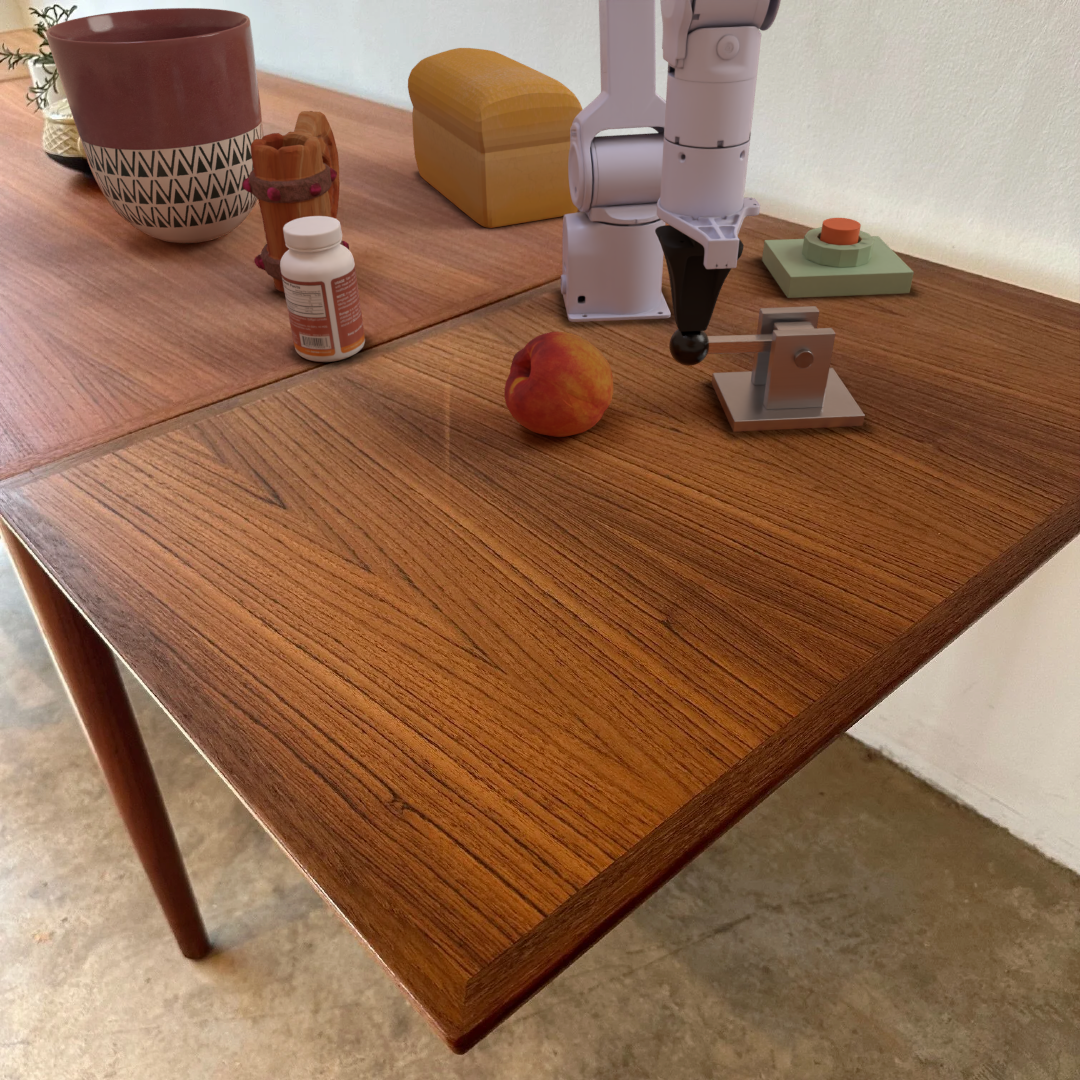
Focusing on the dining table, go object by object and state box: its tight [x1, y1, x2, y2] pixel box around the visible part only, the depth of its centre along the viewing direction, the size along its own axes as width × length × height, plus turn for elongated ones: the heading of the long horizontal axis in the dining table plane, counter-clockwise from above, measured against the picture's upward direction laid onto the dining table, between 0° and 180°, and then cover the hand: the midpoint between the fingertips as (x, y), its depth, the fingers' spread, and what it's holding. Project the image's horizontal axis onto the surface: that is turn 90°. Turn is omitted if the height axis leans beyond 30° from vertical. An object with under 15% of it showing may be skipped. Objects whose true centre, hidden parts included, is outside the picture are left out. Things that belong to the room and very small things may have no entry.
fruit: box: [503, 331, 615, 438], centre depth 75 cm, size 8×8×8 cm
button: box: [820, 217, 862, 245], centre depth 98 cm, size 4×4×2 cm
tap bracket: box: [711, 305, 866, 433], centre depth 77 cm, size 10×8×7 cm
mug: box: [242, 110, 350, 294], centre depth 98 cm, size 15×8×15 cm, turn 168°
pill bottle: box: [280, 216, 366, 363], centre depth 86 cm, size 6×6×11 cm
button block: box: [761, 226, 915, 299], centre depth 100 cm, size 12×10×4 cm
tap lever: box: [668, 322, 814, 367], centre depth 76 cm, size 11×3×3 cm, turn 94°
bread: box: [407, 47, 584, 229], centre depth 120 cm, size 24×13×15 cm, turn 24°
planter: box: [45, 7, 265, 244], centre depth 107 cm, size 20×20×21 cm
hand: (691, 327), depth 75 cm, fingers closed, pressing on tap lever
